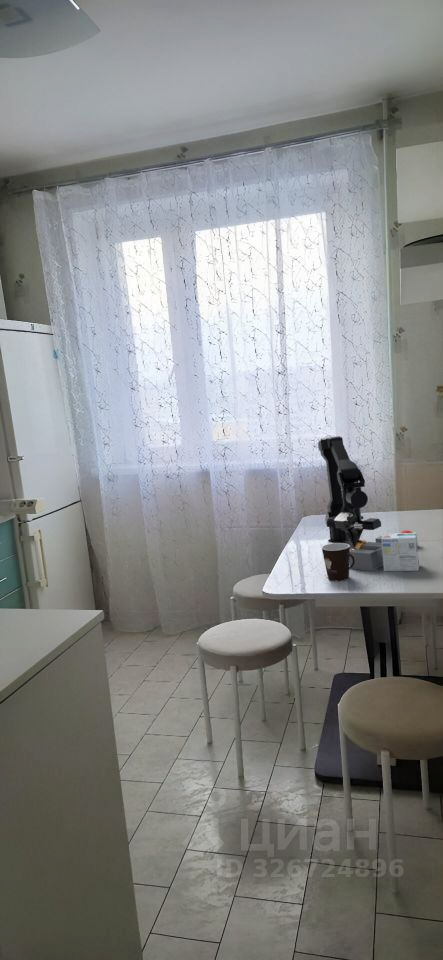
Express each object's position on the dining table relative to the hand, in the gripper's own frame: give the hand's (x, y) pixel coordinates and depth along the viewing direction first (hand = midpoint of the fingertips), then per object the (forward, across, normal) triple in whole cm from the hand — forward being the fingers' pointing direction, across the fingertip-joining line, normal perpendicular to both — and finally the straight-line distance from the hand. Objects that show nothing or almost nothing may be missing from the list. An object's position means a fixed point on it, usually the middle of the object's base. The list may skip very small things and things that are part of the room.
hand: (355, 546), depth 221 cm
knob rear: (+1, +6, 0) cm, 6 cm away
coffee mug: (+3, +10, -26) cm, 28 cm away
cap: (+3, +12, +15) cm, 19 cm away
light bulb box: (+3, +22, -9) cm, 24 cm away
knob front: (+1, +9, -9) cm, 13 cm away
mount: (+3, +11, -4) cm, 12 cm away
